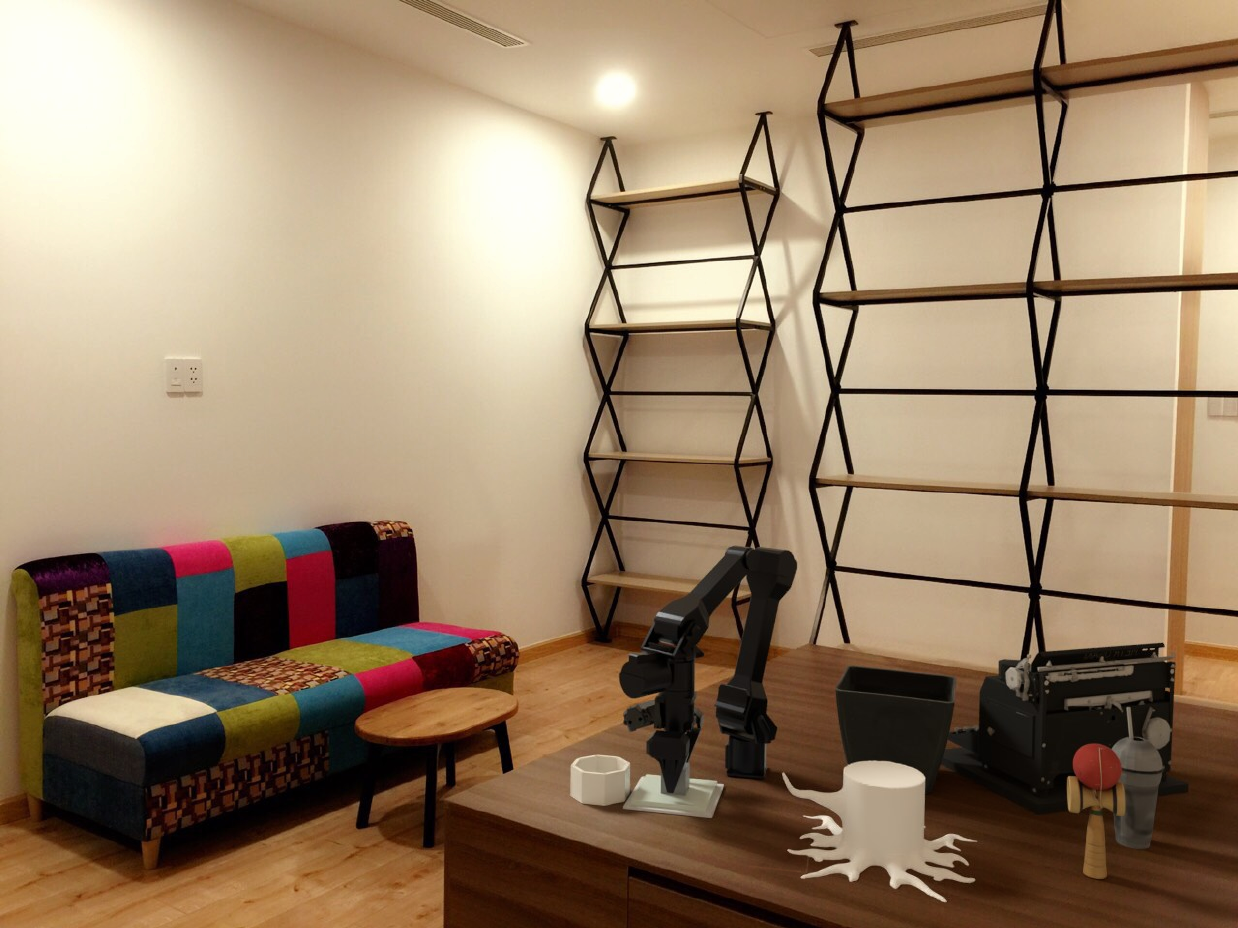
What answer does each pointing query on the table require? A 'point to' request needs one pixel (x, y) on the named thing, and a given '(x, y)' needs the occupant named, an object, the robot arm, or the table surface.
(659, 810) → the mat
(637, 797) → the cover sheet
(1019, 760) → the typewriter
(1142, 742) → the beverage cup
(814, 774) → the table surface
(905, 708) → the flower pot
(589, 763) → the bowl
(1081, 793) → the kendama
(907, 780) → the tree stump
